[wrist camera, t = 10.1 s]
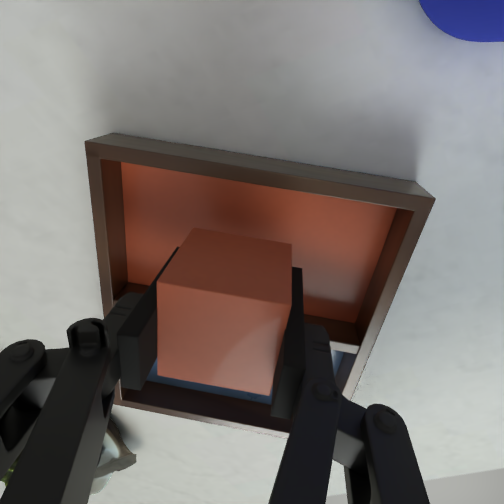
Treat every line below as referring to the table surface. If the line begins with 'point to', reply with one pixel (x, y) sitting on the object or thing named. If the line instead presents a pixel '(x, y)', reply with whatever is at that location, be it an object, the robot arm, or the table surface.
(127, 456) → the salad plate
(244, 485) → the table surface
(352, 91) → the table surface
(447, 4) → the mug
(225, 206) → the tray
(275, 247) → the terracotta block
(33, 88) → the table surface
